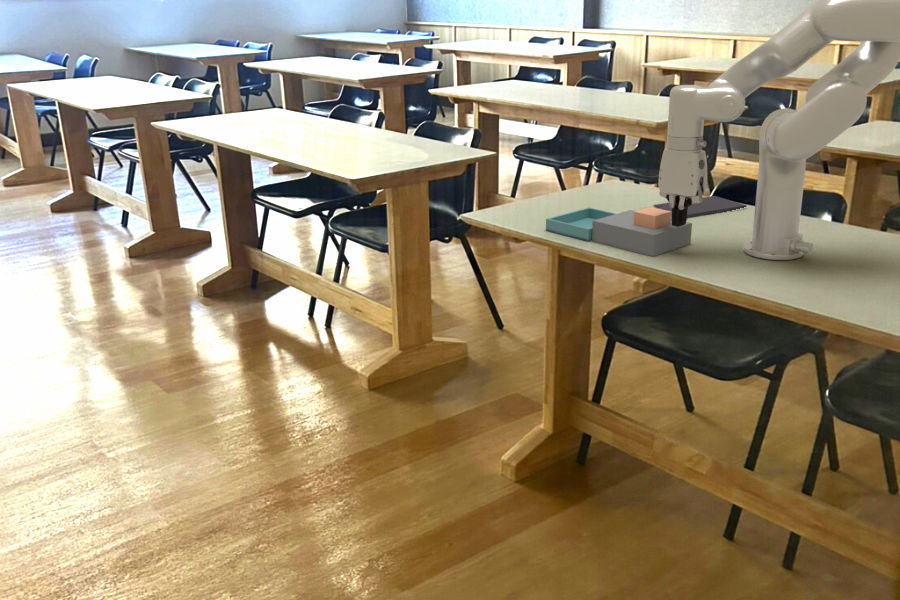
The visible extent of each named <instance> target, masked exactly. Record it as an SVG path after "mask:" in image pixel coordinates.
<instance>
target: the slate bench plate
mask: <svg viewBox="0 0 900 600" xmlns="http://www.w3.org/2000/svg"><path fill="white" fill-rule="evenodd" d="M635 211H636V210H632V209H629V210H626V211H623V212H622V211H621V212H619V213H616V214H614V215H611V216H607V217H604V218H600V219H597V220H593V223H592V241H591V242H595V243H598V244H603V245H606V246H611V247H613V248H618V249H622V250H626V251H631V252H634V253H638V254H642V255H645V256H648V257H649V256H650V257H656V256H658V255H662V254H665V253H667V252H668V253H669V252H671V251H673V250H677V249H680V248H682V247H686V246H689V245H691V243H692V228H693V223H692V222H688V221H686V224H685V225H683V226H679V227H676V226H672V220H671V224H669V225H666V226H663V227H660V228H656V229H652V228H648V227H643V226H639V225H634V212H635Z"/></svg>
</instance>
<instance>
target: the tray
mask: <svg viewBox="0 0 900 600" xmlns="http://www.w3.org/2000/svg"><path fill="white" fill-rule="evenodd" d="M614 214H617V213H616V212H611V211H606V210H604V209H597V208H593V207H586V208H583V209H578V210H573V211H571V212H566V213H563V214H559V215H556V216H552V217H549V218H545V231H546V232H551V233H553V234H558V235H562V236H566V237H570V238H574V239H577V240H581V241H584V242H590V241H591V242H593V241H592V223H593V220H597V219H600V218H604V217H607V216H611V215H614Z"/></svg>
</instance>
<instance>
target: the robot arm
mask: <svg viewBox="0 0 900 600" xmlns="http://www.w3.org/2000/svg"><path fill="white" fill-rule="evenodd" d="M833 41H841V42H843V41H845V42H860V43H859V44H858V46H857V47H856V48H855V49H854V50H852V52H851V53H850V54H849V55H848V56H847V57H845V58H844V59H843V60H842V61H840V62H839V63H838V64H837V65H836V66H834V67H833V68H832V69H830V70H829V71H828V72H827V73H824V75H822V76H821V77H819V78H818V79H817V80H816V81H815V82H814V83H813V84H811V86H809V88H808V90H807V91H806V95H805V104H803V105H802V106H800V107H799V108H798V109H792V108H786V107H785V108H780V109H776V110H774V111H772V112H771V113H769V115H767V116H766V117H765V119H764V120H763V122H762V124H761V127H760V130H759V136H758V137H759V138H758V139H759V140H758V141H759V142H758V145H759V147H758V149H759V150H758V151H759V152H758V153H759V154H758V155H759V156H758V159H759V161H758V174H757V183H756V194H755V203H754V204H755V206H754V214H753V215H754V217H753V226H752V236H751V241H748V242H746V243H745V244H744V246H743V251H744V252H745V253H746V254H747V255H749V256H752V257H755V258H758V259H763V260H764V259H765V260H770V261H771V260H772V261H773V260H774V261H787V260H794V259H795V260H796V259H799V258H801V257H803V255H804V254H809V255H812V253H813V251H814V243H813V242H809V241H804V240H803V237H804V235H803V233H799V232H800V222H801V213H802V212H801V211H802V205H803V204H802V203H803V195H804V188H805V186H804V185H805V179H806V168H807V167H806V166H807V165H806V164H807V163H806V162H807V160H808V159H809V158H810V157H812V156H814V155H815V154H817V153H818V152H819V151H821V150H822V149H824V148H825V147H826V146H827V145H828V144H830V143H831V142H833V141H834V140H835V139H836V138H838V137H839V136H841V135H842V134H843V133H845V132H846V131H847V130H848V129H850V128H851V127H852V126H853V125H854V124H855V123H856V122H857V121H858V120H859V119H860V118H861V116H863V113H864V112H865V109H866V107H867V101H868V97H867V94H868V93H870V92H871V91H872V90H873V89H875V88H876V87H877V86H878V85H880V83H882V81H884V80H885V79H886V78H887V77H889V75H891V73H892V72H893V71H894V69H896V67H897V65H898V64H899V62H900V0H816V1H814V2H813V3H812V4H811V5H810V6H808V7H807V8H806V9H804V10H803V11H802V12H801V13H799V14H798V15H797V16H796V17H795V18H794V19H793V20H791V21H790V22H789V23H788V24H787V25H786V26H784V27H783V28H782V29H780V30H779V31H778V32H777V33H775V34H774V35H773V36H772V37H770V38H769V39H768V40H767V41H765V42H764V43H762V44H760V45H759V46H757V47H756V48H755V49H753V51H751V52H750V53H749V54H747V55H746V56H743V57H742V58H741V59H739V60H738V61H737V62H735V63H734V64H733V65H731V66H730V67H728V69H726V71H724V72H722V74H721V75H719V76H718V77H717V78H715V80H713V81H712V82H711V83H710V84H708V86H707V87H706V88H705V87H703V86H701V85H695V84H682V85H681V84H680V85H675V86H673V87H672V88H671V90H670V92H669V99H668V100H669V101H668V117H667V131H666V132H667V134H666V148H664V150H663V151H662V156H661V161H660V165H659V166H660V167H659V173H658V190H659V196H660V197H663V198H664V199H666V200H667V203H670V207H671V208H672V215H671V220H672V226H676V227H679V226H683V225H685V224H686V222H688V221H687V220H688V218H687V209H688V208H689V207H690V206H691V205H692V204H694V203H700V202H702V201H703V198H704V197H703V195H705V194H706V193H707V190H708V189H707V188H708V164H707V162H708V161H707V154H706V150H703V148H706V146H707V141H706V140H704V137H703V136H704V129H705V128H704V125H705V121H712V122H718V123H729V122H733V121H735V120H737V119H738V118H739V117H740V116H742V114H743V112H744V110H745V109H746V107H745V106H746V98H747V97H748V96H750V95H751V94H752V93H754V92H756V90H758V89H759V88H760V87H762V86H765V85H766V84H768V83H770V82H772V81H775V80H778V79H781V78H785V77H786V76H789V75H791V74H793V73H794V72H795V71H797V70H798V69H800V68H801V67H802V66H803V65H804V64H805V63H807V62H808V61H809V60H811V59H812V58H814V56H816V55H817V54H818V53H820V52H821V51H822V50H823V49H825V48H826V47H828V46H829V45H830V44H831V43H833Z"/></svg>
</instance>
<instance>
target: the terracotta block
mask: <svg viewBox="0 0 900 600" xmlns="http://www.w3.org/2000/svg"><path fill="white" fill-rule="evenodd" d="M634 211H635V212H634V225H639V226H643V227H648V228H652V229H656V228H660V227H663V226H666V225H669V224H671V217H672V215H671V211H667V210H662V209H657V208H654V207H652V206H649V207H646V208H643V209H639V210H634Z"/></svg>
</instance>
